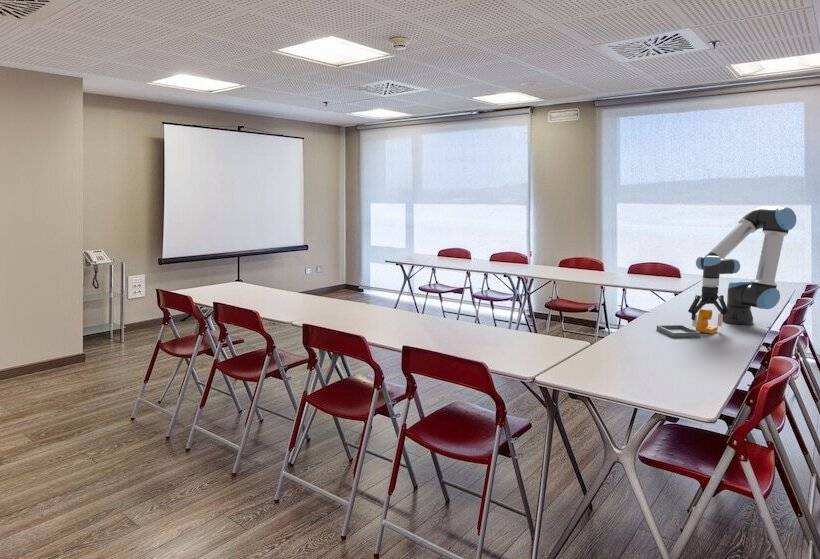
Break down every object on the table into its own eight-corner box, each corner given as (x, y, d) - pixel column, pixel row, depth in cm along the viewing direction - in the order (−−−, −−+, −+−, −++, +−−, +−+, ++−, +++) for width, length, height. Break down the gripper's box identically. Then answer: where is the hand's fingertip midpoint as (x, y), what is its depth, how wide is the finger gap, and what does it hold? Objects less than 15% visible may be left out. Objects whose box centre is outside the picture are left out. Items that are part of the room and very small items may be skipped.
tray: (682, 329, 301) (682, 324, 301) (700, 337, 285) (700, 332, 284) (656, 329, 301) (656, 325, 300) (672, 337, 284) (673, 333, 284)
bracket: (710, 334, 290) (712, 311, 288) (695, 332, 295) (697, 309, 293) (718, 331, 297) (719, 309, 295) (703, 329, 302) (705, 307, 300)
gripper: (729, 284, 297) (725, 324, 300) (682, 284, 295) (680, 324, 299) (738, 286, 289) (734, 327, 292) (690, 287, 288) (687, 328, 291)
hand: (707, 326), depth 296 cm, fingers open, 13 cm apart
